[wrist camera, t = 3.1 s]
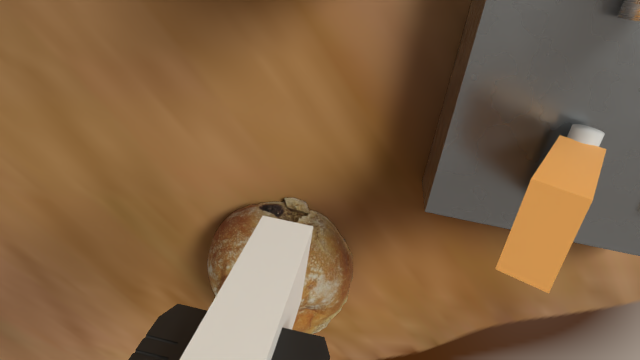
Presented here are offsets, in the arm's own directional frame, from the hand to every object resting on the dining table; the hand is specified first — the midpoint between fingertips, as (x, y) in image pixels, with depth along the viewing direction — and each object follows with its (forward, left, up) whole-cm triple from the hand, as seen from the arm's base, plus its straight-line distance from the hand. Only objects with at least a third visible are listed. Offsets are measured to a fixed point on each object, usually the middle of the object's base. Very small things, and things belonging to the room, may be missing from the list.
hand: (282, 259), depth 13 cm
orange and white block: (+12, 0, -11) cm, 16 cm away
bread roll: (-2, -12, -16) cm, 20 cm away
